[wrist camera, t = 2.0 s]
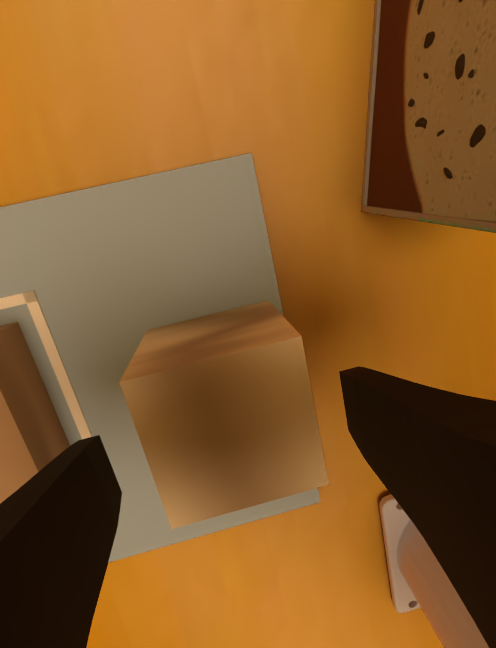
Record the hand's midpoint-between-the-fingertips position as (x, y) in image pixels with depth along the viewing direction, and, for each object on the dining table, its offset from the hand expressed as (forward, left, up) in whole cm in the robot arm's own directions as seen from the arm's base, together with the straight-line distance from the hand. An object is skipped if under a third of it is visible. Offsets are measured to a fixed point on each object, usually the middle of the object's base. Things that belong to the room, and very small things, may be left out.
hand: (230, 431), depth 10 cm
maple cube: (0, 0, -5) cm, 5 cm away
